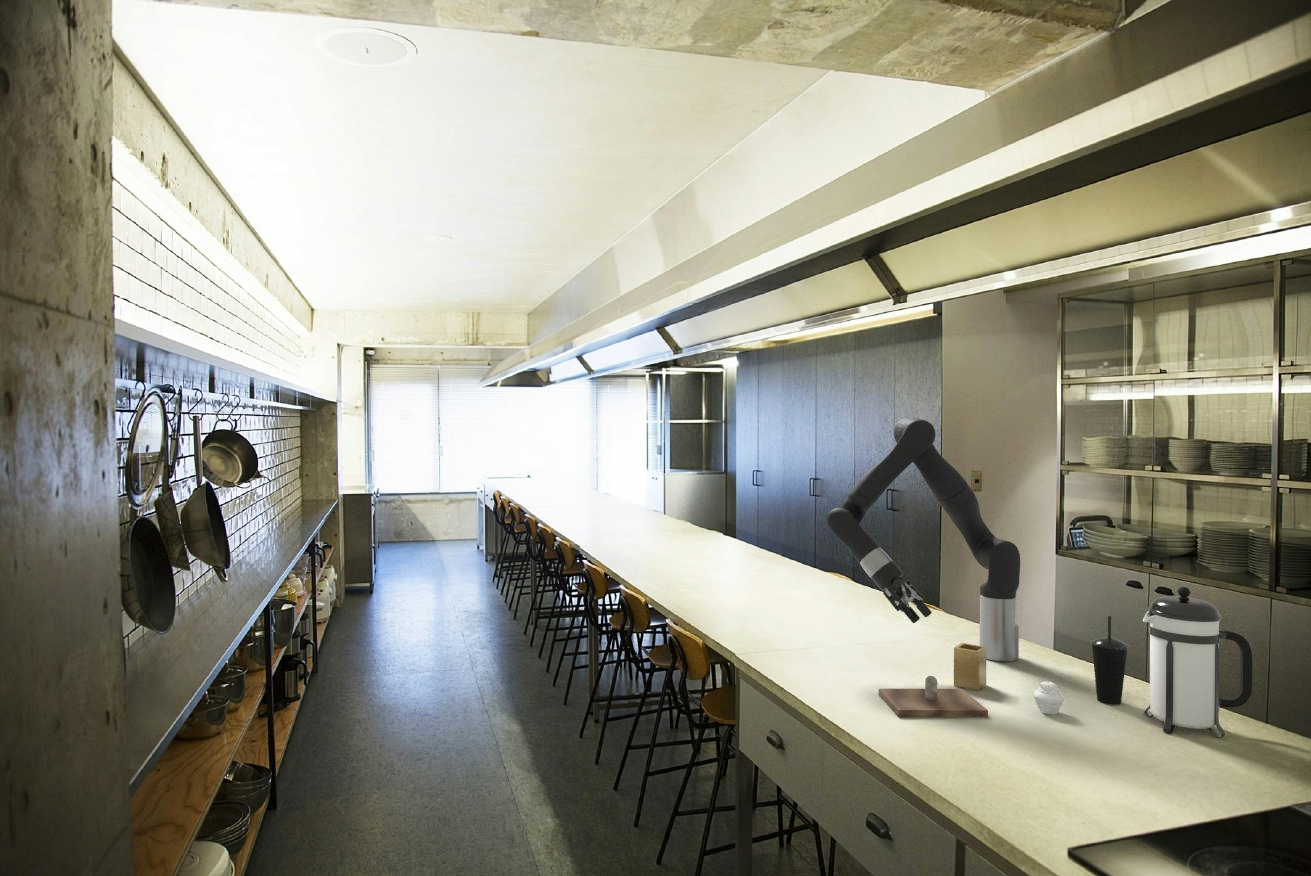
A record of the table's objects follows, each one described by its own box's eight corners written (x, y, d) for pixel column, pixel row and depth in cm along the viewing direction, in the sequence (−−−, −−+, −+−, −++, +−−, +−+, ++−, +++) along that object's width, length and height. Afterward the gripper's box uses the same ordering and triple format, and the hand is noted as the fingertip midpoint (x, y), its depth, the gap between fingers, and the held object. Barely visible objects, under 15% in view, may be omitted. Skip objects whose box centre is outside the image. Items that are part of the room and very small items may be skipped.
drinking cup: (1123, 697, 177) (1123, 613, 177) (1132, 708, 170) (1132, 621, 170) (1086, 694, 180) (1087, 611, 180) (1094, 704, 173) (1094, 618, 173)
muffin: (1026, 709, 170) (1027, 678, 170) (1046, 705, 172) (1046, 675, 172) (1050, 718, 164) (1051, 687, 164) (1070, 715, 166) (1070, 683, 166)
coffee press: (1208, 747, 149) (1209, 597, 149) (1126, 720, 163) (1127, 583, 163) (1253, 732, 157) (1254, 589, 157) (1171, 707, 171) (1172, 577, 171)
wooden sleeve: (961, 679, 190) (961, 642, 190) (986, 684, 186) (986, 646, 186) (953, 685, 185) (953, 647, 185) (978, 691, 182) (979, 652, 182)
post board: (961, 694, 179) (961, 666, 179) (988, 716, 165) (988, 686, 165) (878, 694, 179) (878, 666, 179) (897, 716, 165) (898, 685, 165)
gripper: (880, 563, 193) (923, 614, 186) (901, 556, 204) (943, 604, 197) (860, 580, 197) (902, 631, 190) (882, 573, 208) (922, 621, 200)
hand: (923, 618), depth 193 cm, fingers open, 8 cm apart
